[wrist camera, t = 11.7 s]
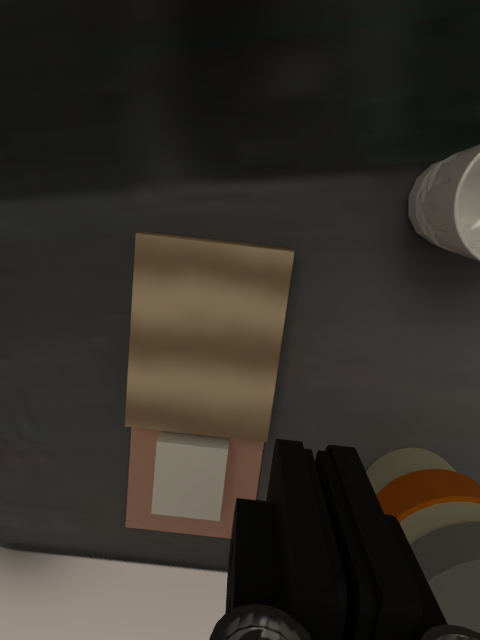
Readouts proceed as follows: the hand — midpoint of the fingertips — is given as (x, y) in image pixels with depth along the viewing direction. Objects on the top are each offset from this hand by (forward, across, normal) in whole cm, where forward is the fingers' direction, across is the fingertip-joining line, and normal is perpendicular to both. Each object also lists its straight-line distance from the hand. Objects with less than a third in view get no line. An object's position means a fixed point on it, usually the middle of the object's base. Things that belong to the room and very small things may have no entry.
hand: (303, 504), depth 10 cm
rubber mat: (+29, +4, +19) cm, 35 cm away
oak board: (+29, +4, +5) cm, 30 cm away
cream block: (+29, +4, +17) cm, 34 cm away
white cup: (+29, -14, -8) cm, 33 cm away
